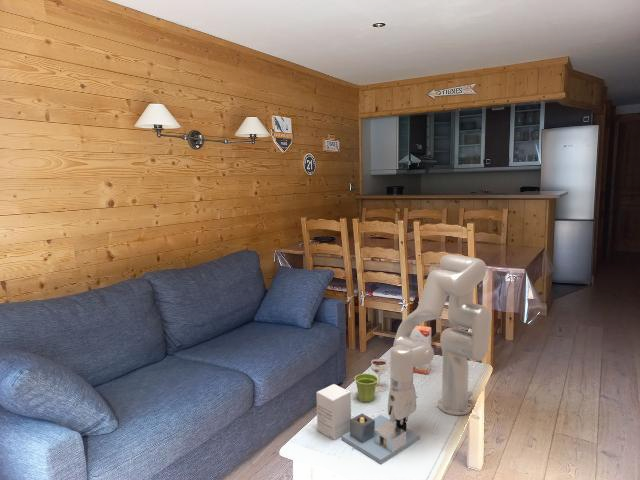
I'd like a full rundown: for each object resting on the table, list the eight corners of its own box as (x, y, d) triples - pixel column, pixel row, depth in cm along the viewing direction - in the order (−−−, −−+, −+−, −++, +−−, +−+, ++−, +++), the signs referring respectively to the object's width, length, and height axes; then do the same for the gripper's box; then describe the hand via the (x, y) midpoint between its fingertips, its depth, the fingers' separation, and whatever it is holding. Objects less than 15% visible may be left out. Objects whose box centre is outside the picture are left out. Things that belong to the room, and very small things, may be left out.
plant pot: (363, 390, 193) (363, 371, 192) (382, 397, 188) (382, 377, 186) (350, 399, 186) (349, 379, 185) (369, 406, 180) (369, 386, 179)
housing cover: (387, 433, 159) (387, 421, 159) (406, 443, 153) (406, 431, 153) (374, 441, 155) (374, 429, 154) (392, 452, 149) (392, 439, 148)
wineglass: (386, 393, 191) (386, 365, 189) (370, 391, 192) (370, 364, 190) (387, 385, 197) (387, 359, 196) (372, 384, 199) (371, 358, 197)
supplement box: (334, 420, 171) (333, 382, 169) (352, 430, 165) (351, 391, 162) (316, 430, 165) (315, 391, 163) (333, 440, 159) (333, 400, 156)
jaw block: (374, 436, 158) (374, 420, 157) (362, 443, 154) (362, 426, 153) (362, 429, 163) (362, 413, 162) (350, 435, 159) (349, 419, 158)
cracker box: (397, 370, 212) (398, 327, 208) (400, 365, 217) (401, 322, 214) (428, 375, 206) (429, 330, 203) (430, 369, 212) (431, 326, 208)
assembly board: (380, 418, 172) (380, 397, 171) (419, 439, 158) (420, 416, 157) (341, 440, 159) (341, 416, 158) (380, 464, 146) (380, 439, 144)
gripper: (395, 393, 147) (395, 446, 150) (424, 379, 157) (423, 429, 160) (378, 385, 153) (378, 436, 156) (406, 372, 162) (406, 420, 165)
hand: (401, 432), depth 158 cm, fingers closed
